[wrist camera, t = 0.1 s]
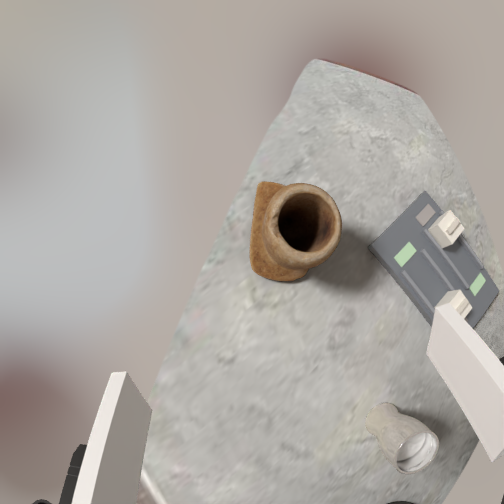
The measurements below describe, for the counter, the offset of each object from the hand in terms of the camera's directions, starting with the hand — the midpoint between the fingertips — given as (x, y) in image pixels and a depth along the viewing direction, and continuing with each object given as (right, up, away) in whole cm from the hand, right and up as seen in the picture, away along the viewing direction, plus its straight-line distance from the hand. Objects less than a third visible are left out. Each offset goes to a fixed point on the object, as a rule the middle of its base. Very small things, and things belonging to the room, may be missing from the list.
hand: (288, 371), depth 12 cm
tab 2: (+31, -5, +32) cm, 44 cm away
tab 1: (+30, +8, +34) cm, 46 cm away
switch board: (+31, +1, +35) cm, 46 cm away
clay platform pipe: (+4, +7, +38) cm, 39 cm away
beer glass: (+20, -23, +31) cm, 44 cm away
